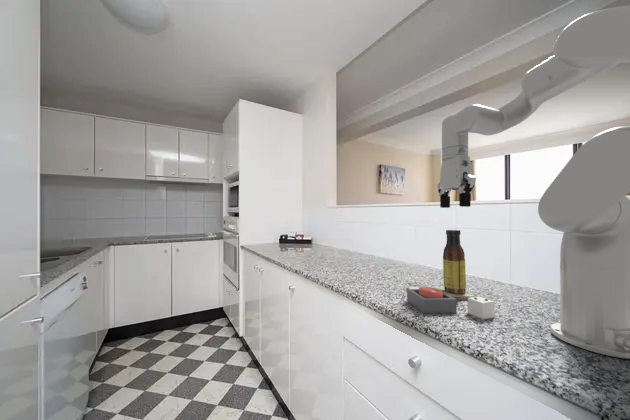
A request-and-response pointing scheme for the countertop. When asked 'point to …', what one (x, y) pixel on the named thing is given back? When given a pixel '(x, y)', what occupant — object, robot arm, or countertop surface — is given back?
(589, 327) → the robot arm
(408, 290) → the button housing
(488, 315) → the die
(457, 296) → the board
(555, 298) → the countertop surface
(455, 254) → the sauce bottle
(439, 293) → the dome button
